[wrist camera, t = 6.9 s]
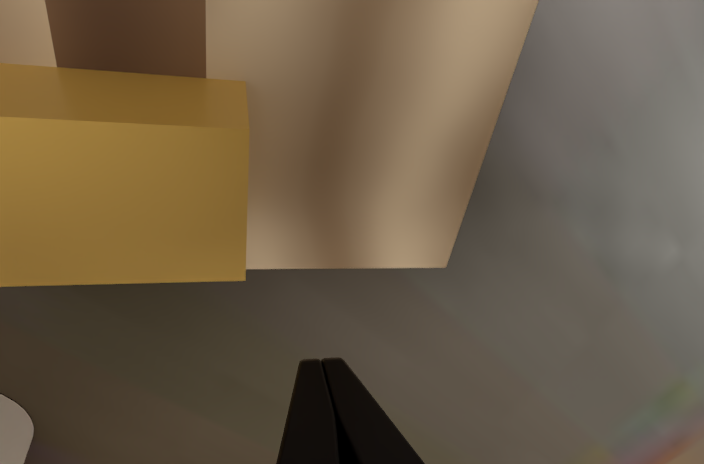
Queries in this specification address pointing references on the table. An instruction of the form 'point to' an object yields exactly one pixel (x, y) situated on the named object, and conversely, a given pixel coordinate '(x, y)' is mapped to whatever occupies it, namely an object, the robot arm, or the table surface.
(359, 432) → the robot arm
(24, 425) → the cylindrical container
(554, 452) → the table surface
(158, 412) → the table surface
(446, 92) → the board
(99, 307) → the table surface
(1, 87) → the mustard yellow box
